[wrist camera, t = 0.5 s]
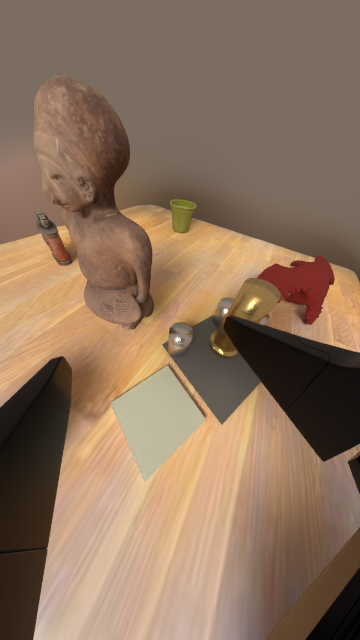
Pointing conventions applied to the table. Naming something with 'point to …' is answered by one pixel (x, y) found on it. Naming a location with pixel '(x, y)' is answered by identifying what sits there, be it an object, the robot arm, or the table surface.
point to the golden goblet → (245, 312)
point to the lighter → (52, 238)
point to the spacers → (184, 333)
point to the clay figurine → (93, 196)
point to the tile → (156, 419)
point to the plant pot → (181, 214)
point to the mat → (216, 373)
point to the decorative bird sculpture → (302, 283)
